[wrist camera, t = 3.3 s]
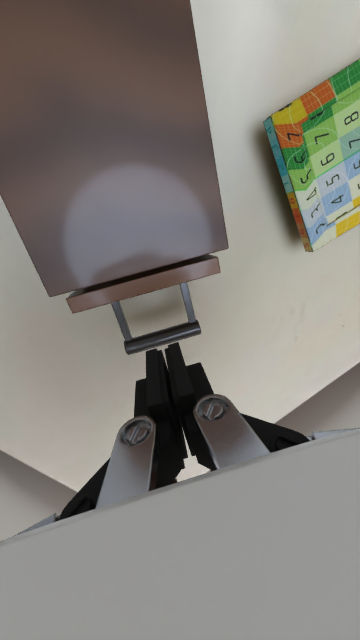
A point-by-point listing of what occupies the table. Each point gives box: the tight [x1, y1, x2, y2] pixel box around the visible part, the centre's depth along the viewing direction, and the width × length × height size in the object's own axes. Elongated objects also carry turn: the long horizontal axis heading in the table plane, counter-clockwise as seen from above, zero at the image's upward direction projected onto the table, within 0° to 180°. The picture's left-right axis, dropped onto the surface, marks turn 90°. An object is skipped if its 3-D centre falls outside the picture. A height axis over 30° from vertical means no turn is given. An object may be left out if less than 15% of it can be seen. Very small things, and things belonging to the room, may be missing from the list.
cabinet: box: [0, 0, 228, 297], centre depth 17 cm, size 15×13×9 cm
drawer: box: [66, 254, 220, 355], centre depth 19 cm, size 19×11×7 cm, turn 14°
